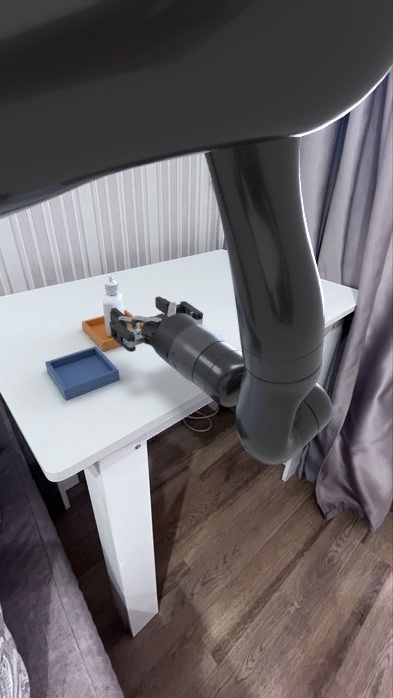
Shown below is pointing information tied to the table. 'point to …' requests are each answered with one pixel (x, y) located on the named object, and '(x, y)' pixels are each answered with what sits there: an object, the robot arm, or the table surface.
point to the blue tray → (82, 372)
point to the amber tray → (103, 332)
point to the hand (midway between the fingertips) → (135, 307)
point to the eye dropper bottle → (111, 301)
